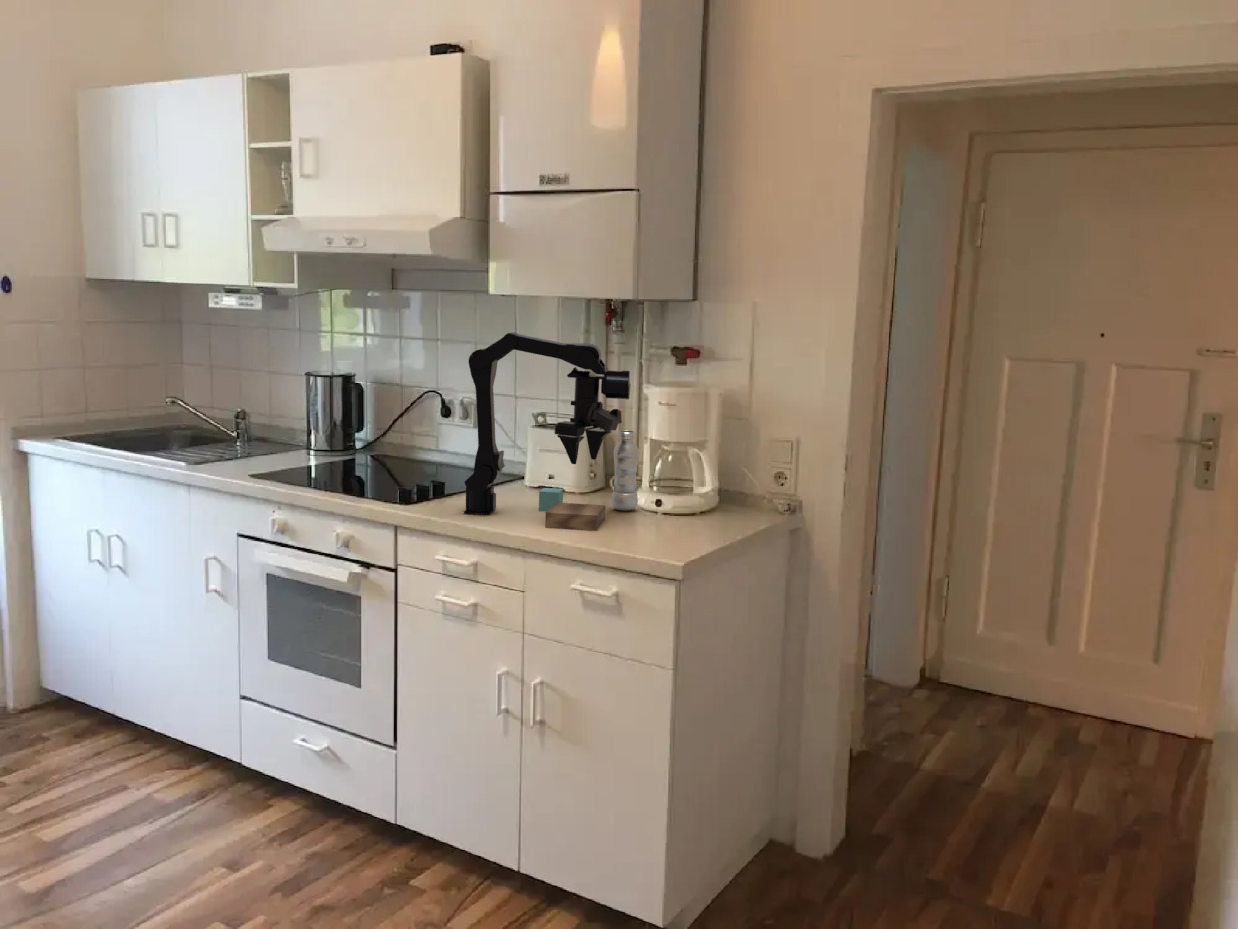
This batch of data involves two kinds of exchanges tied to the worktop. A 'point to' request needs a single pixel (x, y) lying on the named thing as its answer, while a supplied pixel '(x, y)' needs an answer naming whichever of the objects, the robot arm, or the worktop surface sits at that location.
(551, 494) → the teal cube
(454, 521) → the worktop surface
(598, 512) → the walnut box
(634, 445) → the plastic bottle
